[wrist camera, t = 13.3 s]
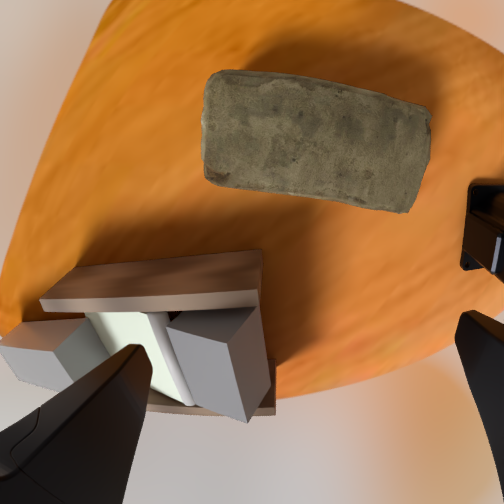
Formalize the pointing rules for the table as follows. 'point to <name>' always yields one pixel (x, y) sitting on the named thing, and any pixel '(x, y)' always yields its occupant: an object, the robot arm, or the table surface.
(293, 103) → the stone block
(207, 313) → the trapdoor flap
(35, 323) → the granite pillar
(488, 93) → the table surface
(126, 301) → the frame
